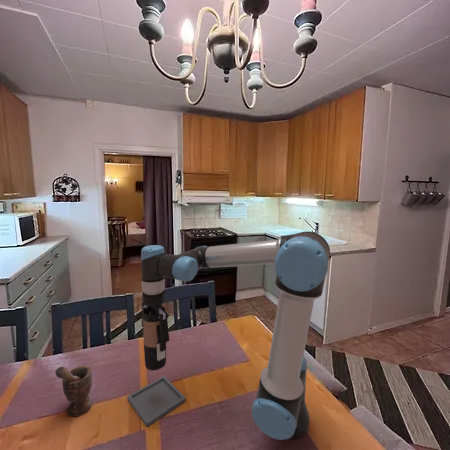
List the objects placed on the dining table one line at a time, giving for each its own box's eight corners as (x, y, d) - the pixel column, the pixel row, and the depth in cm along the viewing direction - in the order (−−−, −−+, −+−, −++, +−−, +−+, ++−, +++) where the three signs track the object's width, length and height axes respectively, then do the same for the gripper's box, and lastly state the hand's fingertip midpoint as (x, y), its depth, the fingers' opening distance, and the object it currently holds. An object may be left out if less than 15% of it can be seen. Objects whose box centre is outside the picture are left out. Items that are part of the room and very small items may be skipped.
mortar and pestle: (84, 425, 81) (80, 368, 79) (55, 429, 80) (50, 371, 77) (96, 397, 93) (93, 346, 90) (71, 400, 91) (67, 348, 89)
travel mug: (160, 372, 85) (159, 316, 83) (140, 369, 87) (138, 314, 84) (170, 358, 93) (169, 306, 90) (151, 355, 94) (149, 304, 92)
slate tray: (185, 401, 91) (185, 397, 91) (146, 427, 81) (146, 423, 81) (164, 379, 102) (164, 375, 102) (127, 399, 92) (127, 396, 91)
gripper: (180, 296, 81) (180, 362, 84) (149, 280, 96) (151, 336, 99) (159, 303, 76) (160, 373, 79) (130, 285, 91) (132, 344, 94)
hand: (155, 352), depth 89 cm, fingers closed on travel mug, 8 cm apart
